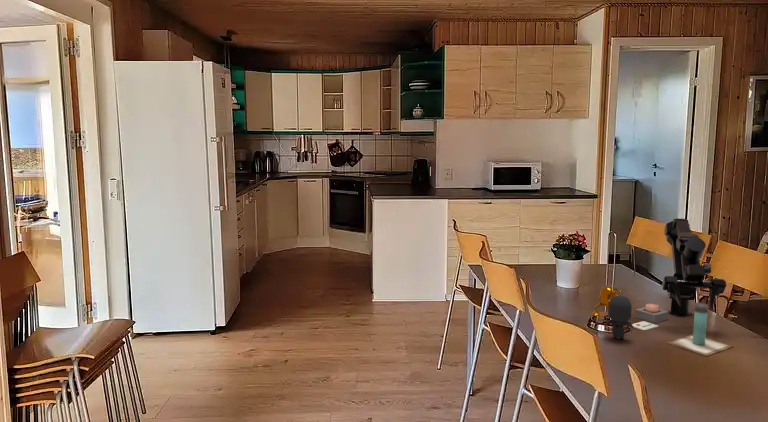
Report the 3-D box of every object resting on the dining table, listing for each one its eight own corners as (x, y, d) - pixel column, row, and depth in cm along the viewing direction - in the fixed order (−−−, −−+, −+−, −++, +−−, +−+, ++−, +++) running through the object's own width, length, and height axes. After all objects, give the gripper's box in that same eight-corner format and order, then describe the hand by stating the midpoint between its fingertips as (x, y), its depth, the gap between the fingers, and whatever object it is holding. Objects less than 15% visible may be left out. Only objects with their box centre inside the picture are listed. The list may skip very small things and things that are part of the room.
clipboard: (694, 335, 193) (694, 333, 193) (733, 347, 182) (733, 345, 182) (666, 343, 186) (666, 342, 186) (706, 356, 175) (706, 355, 175)
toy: (632, 337, 192) (634, 293, 190) (634, 345, 185) (636, 300, 183) (603, 334, 195) (605, 291, 193) (604, 342, 188) (606, 297, 186)
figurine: (622, 321, 208) (623, 289, 206) (590, 319, 211) (592, 287, 209) (619, 314, 216) (621, 283, 214) (589, 312, 219) (590, 281, 217)
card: (643, 321, 207) (643, 320, 207) (658, 326, 202) (658, 325, 202) (629, 325, 203) (629, 324, 203) (644, 330, 198) (644, 329, 198)
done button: (650, 311, 214) (650, 302, 213) (660, 315, 210) (661, 305, 210) (642, 313, 212) (643, 304, 211) (653, 317, 208) (653, 307, 207)
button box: (648, 313, 216) (649, 306, 216) (668, 319, 210) (668, 311, 209) (635, 317, 212) (635, 309, 212) (654, 323, 206) (654, 315, 205)
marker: (694, 340, 187) (697, 302, 185) (706, 343, 184) (710, 304, 183) (690, 343, 184) (693, 304, 183) (703, 346, 182) (706, 307, 180)
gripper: (665, 253, 196) (669, 293, 187) (726, 255, 190) (733, 297, 181) (660, 269, 204) (663, 308, 196) (719, 273, 199) (725, 313, 190)
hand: (696, 306), depth 190 cm, fingers open, 9 cm apart
